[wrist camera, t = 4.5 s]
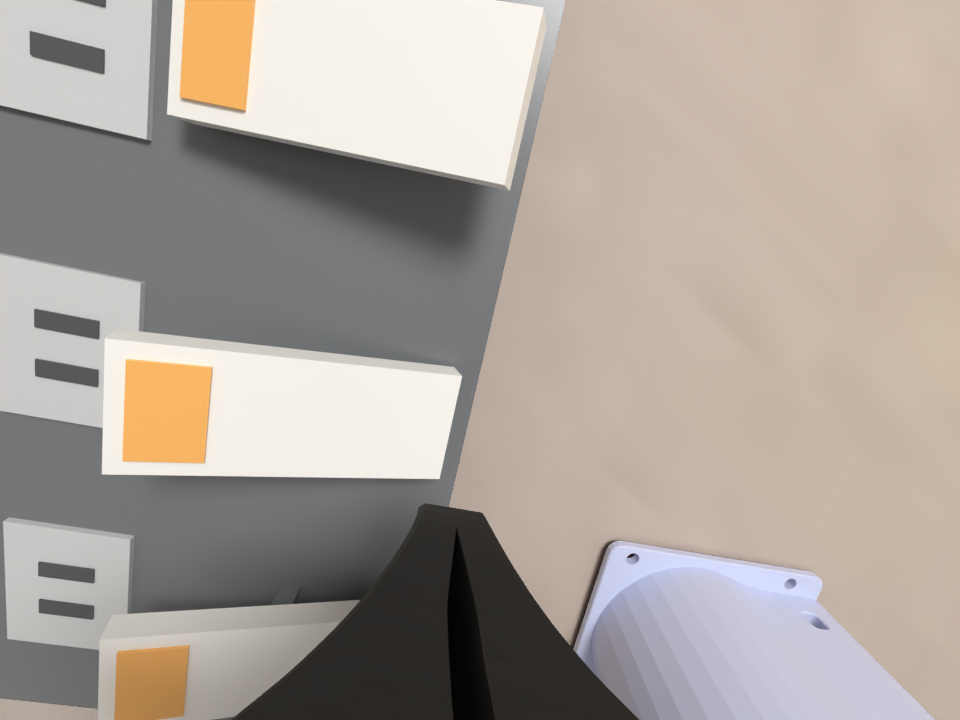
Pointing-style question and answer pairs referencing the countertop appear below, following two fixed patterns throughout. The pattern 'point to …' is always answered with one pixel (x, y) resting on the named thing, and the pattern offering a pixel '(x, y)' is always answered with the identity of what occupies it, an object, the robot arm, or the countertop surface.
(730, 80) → the countertop surface
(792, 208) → the countertop surface
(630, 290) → the countertop surface
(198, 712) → the rocker
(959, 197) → the countertop surface
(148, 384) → the rocker middle
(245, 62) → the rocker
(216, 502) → the power strip
